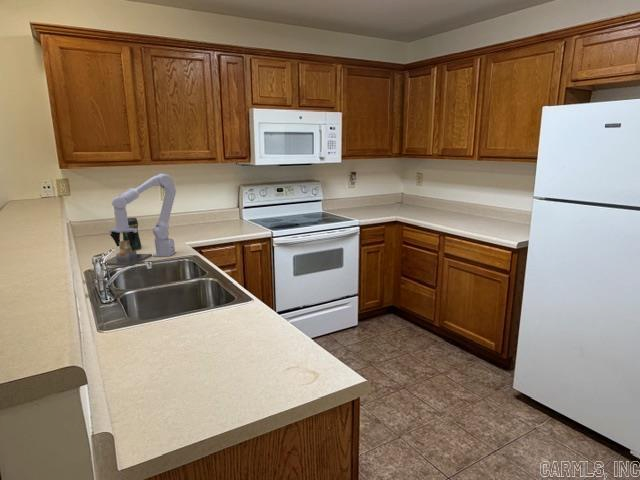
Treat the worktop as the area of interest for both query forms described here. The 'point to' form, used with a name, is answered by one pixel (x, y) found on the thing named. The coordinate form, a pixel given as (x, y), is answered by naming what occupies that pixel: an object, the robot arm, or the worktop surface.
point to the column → (125, 247)
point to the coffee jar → (137, 244)
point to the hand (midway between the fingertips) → (125, 246)
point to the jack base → (128, 259)
